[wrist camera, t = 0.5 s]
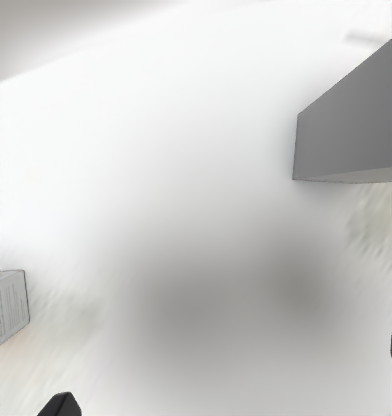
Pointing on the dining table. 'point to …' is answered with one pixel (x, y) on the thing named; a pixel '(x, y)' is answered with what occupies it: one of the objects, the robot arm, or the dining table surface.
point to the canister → (349, 127)
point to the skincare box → (12, 304)
